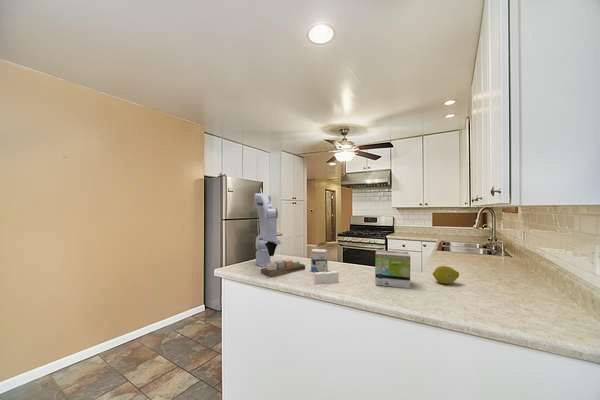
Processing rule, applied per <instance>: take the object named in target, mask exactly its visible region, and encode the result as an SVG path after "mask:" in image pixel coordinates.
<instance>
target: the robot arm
mask: <svg viewBox="0 0 600 400" xmlns="http://www.w3.org/2000/svg"><path fill="white" fill-rule="evenodd" d="M253 197H254V198H253V200H254V201H253V202H254V208H256V209H257V210H258V211H257V212H258V221H259V222H258V223H259V226H258V227H259V235H257V236H256V238H255V249H256V252H255V262H254V264H255V265H257V266H259V267H261V268H262V267H263V268H264V267H267V266H266V264H267V263H271V257H274V255H275V252H276V249H277V246H278V245H281V239H279V238H278V236H277V234H278V233H277V219H278V214H279V213H278V211H279V210H278V208H277V207H274V204H273V203H272V195H271V193H269V192H268V193H258V192H256V193H254V196H253Z"/></svg>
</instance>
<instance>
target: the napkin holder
mask: <svg viewBox="0 0 600 400" xmlns="http://www.w3.org/2000/svg"><path fill="white" fill-rule="evenodd" d="M339 273H340V272H339V271H338V270H333V271H327V272H313V283H314V285H321V284H322V285H323V284H324V285H329V284H336V283H339V282H340V279H339Z"/></svg>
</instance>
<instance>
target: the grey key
mask: <svg viewBox="0 0 600 400" xmlns="http://www.w3.org/2000/svg"><path fill="white" fill-rule="evenodd" d="M274 263H276V264H277V268H278V269H281V268H285V262H283V261H282V260H277V261H274Z"/></svg>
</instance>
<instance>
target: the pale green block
mask: <svg viewBox="0 0 600 400" xmlns="http://www.w3.org/2000/svg"><path fill="white" fill-rule="evenodd" d="M300 264H301V263H300V260H296V259H293V260H292V265H293V266H296V265H300Z"/></svg>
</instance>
